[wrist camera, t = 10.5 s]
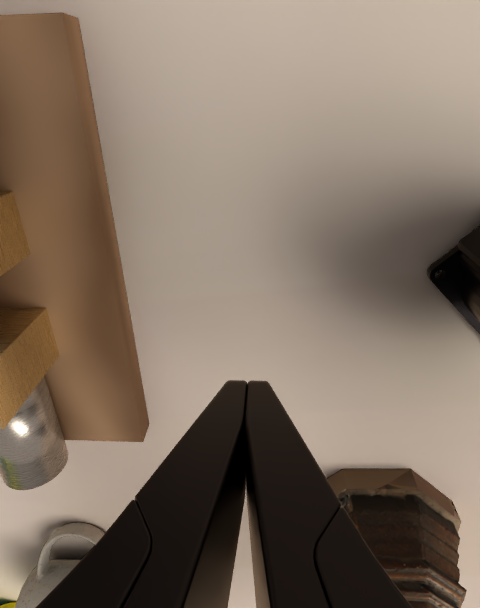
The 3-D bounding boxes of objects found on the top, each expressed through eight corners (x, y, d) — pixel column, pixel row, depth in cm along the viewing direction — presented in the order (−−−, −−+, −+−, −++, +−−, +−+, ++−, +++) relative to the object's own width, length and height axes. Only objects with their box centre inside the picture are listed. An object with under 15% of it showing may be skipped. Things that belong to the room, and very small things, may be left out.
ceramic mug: (152, 590, 37) (127, 698, 30) (69, 591, 38) (27, 696, 31) (122, 515, 32) (85, 623, 26) (28, 518, 33) (-31, 624, 27)
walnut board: (78, 18, 17) (62, 13, 15) (149, 424, 27) (143, 441, 26) (-200, 29, 17) (-238, 25, 16) (-27, 419, 28) (-41, 436, 27)
